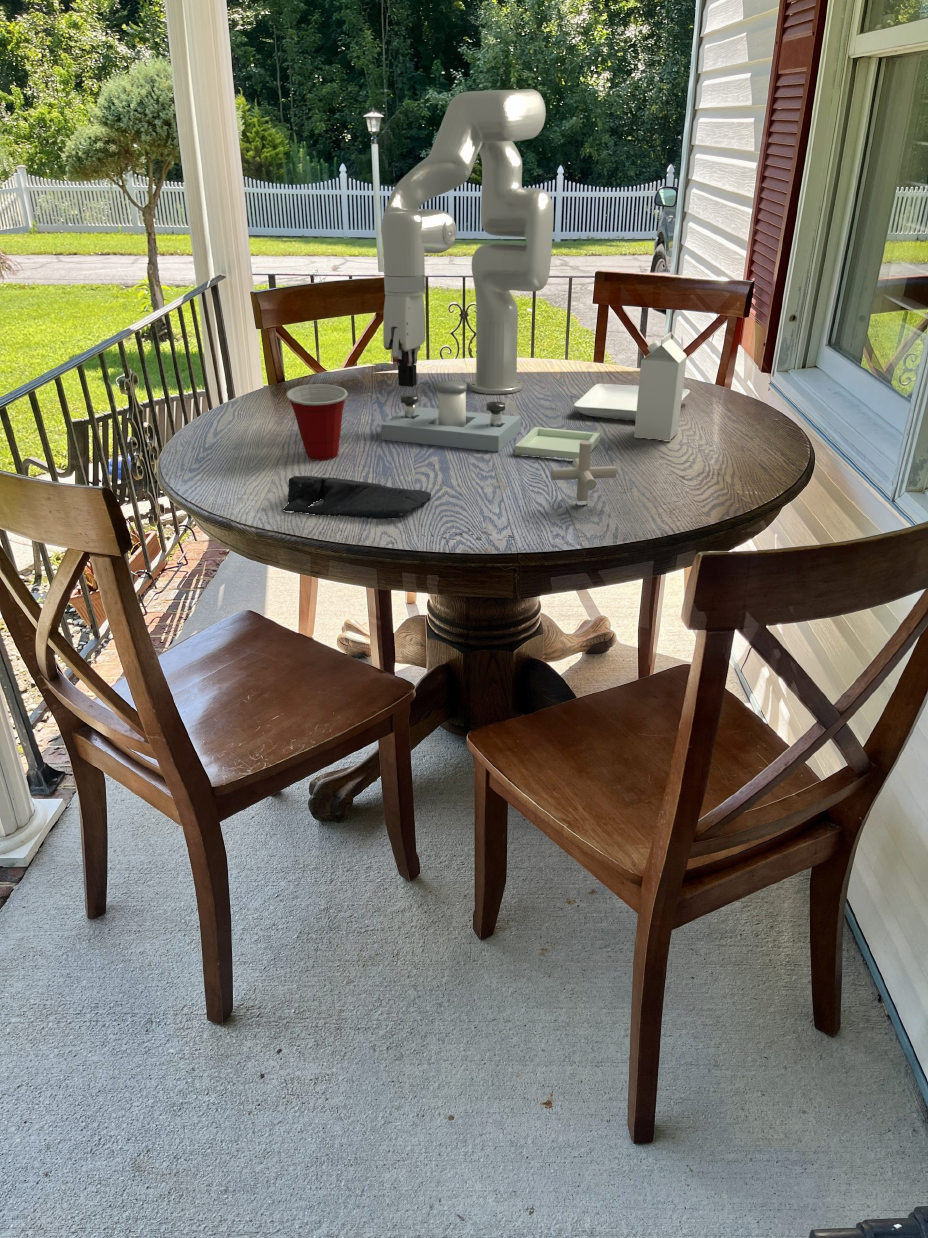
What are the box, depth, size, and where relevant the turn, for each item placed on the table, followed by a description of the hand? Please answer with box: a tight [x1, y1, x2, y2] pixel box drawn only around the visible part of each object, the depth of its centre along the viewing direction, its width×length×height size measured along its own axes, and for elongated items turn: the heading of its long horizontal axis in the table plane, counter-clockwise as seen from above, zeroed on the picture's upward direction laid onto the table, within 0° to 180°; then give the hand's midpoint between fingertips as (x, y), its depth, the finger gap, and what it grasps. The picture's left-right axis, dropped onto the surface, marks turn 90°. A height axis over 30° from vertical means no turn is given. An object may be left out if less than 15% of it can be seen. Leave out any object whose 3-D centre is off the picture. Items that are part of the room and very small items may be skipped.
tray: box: [514, 426, 601, 459], centre depth 159 cm, size 13×13×2 cm
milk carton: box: [633, 331, 688, 441], centre depth 161 cm, size 7×7×19 cm
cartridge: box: [436, 380, 468, 427], centre depth 165 cm, size 6×6×10 cm
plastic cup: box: [286, 383, 349, 461], centre depth 154 cm, size 11×11×12 cm
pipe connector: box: [550, 441, 618, 501], centre depth 132 cm, size 10×10×10 cm
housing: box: [381, 406, 522, 452], centre depth 166 cm, size 14×24×3 cm, turn 69°
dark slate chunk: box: [282, 475, 432, 520], centre depth 134 cm, size 15×22×5 cm
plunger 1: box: [399, 393, 420, 419], centre depth 168 cm, size 4×4×6 cm
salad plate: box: [573, 383, 690, 421], centre depth 182 cm, size 21×21×3 cm
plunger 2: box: [485, 401, 506, 427], centre depth 162 cm, size 4×4×6 cm
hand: (407, 385), depth 165 cm, fingers closed
